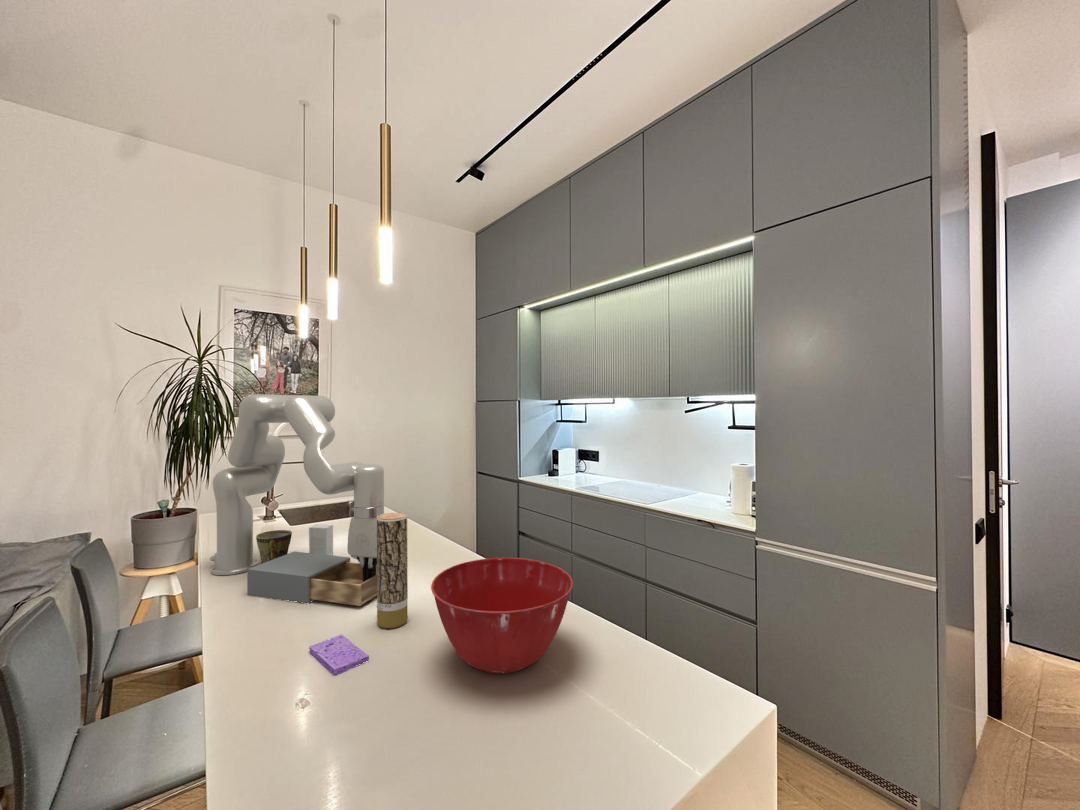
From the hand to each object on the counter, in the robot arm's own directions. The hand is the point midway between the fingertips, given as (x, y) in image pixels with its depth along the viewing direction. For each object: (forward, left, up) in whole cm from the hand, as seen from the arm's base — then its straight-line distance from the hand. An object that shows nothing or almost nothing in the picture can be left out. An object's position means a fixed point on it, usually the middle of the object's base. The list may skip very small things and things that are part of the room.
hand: (369, 581), depth 124 cm
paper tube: (+15, -11, -4) cm, 19 cm away
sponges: (+13, -27, -5) cm, 30 cm away
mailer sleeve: (-22, 0, -4) cm, 23 cm away
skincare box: (-32, +19, -4) cm, 38 cm away
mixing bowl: (+44, -17, -5) cm, 48 cm away
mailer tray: (-7, 0, -3) cm, 8 cm away
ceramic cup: (-45, +12, -4) cm, 46 cm away
